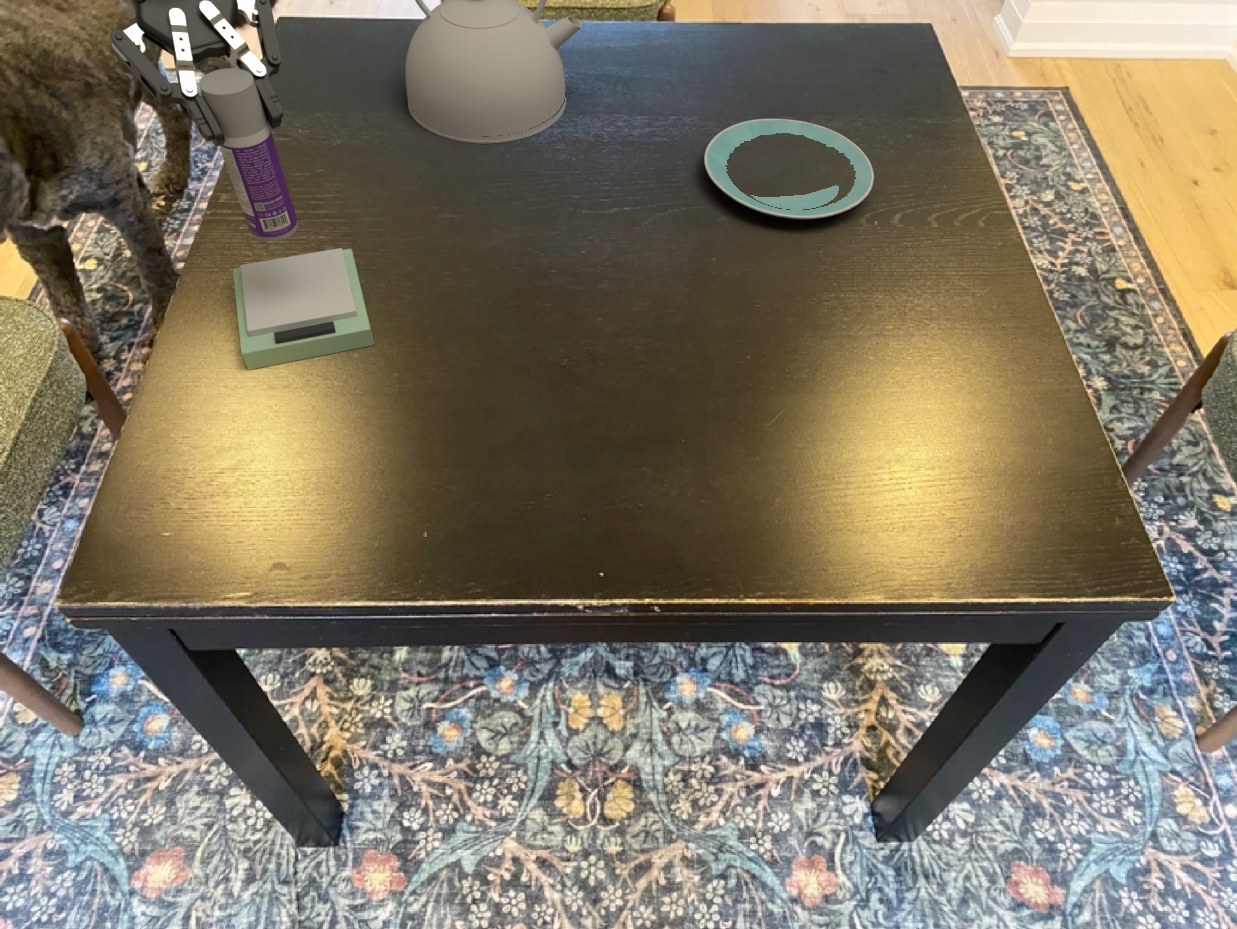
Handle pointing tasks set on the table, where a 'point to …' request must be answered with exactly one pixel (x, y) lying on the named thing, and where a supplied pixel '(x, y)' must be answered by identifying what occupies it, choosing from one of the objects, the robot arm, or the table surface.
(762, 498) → the table surface
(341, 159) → the table surface
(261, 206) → the container
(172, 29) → the robot arm
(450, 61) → the kettle
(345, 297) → the scale
